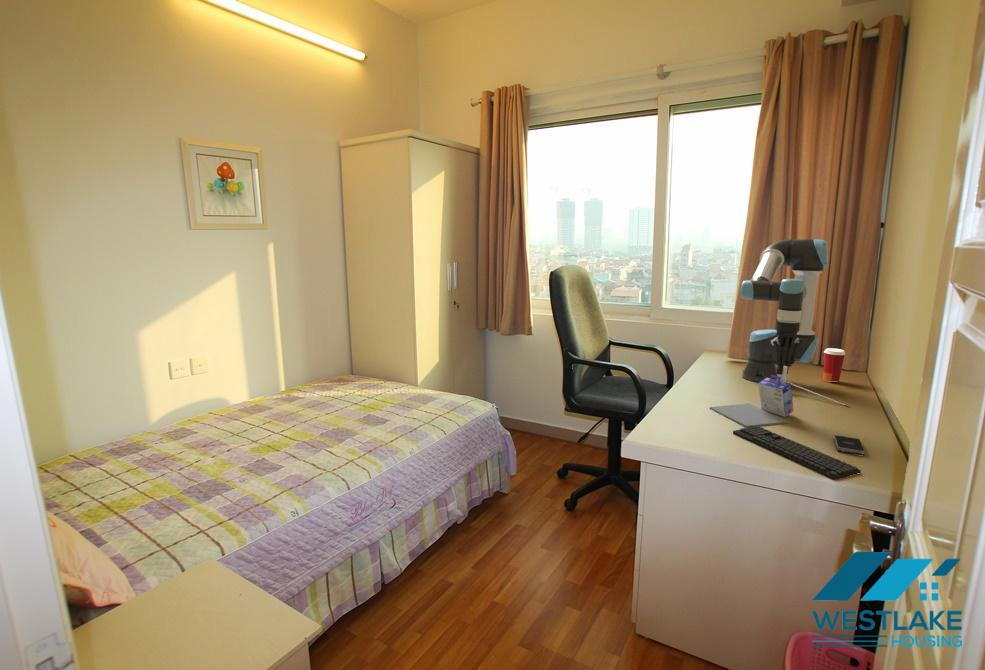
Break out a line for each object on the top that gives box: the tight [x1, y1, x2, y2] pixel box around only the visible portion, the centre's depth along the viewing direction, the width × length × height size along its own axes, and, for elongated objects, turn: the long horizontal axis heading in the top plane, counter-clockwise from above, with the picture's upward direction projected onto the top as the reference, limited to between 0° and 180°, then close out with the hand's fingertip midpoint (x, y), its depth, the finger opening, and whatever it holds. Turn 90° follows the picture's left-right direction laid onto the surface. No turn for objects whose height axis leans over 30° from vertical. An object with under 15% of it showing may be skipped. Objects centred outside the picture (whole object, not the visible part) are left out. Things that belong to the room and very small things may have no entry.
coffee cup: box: [822, 347, 846, 382], centre depth 225 cm, size 8×8×15 cm
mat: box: [709, 403, 790, 428], centre depth 185 cm, size 18×20×1 cm
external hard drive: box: [833, 434, 866, 457], centre depth 157 cm, size 7×11×2 cm, turn 151°
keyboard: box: [732, 426, 862, 481], centre depth 154 cm, size 35×11×2 cm, turn 21°
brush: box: [786, 380, 847, 406], centre depth 202 cm, size 4×28×9 cm, turn 33°
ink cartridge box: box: [757, 375, 795, 418], centre depth 185 cm, size 10×6×14 cm, turn 27°
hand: (781, 382), depth 185 cm, fingers closed
